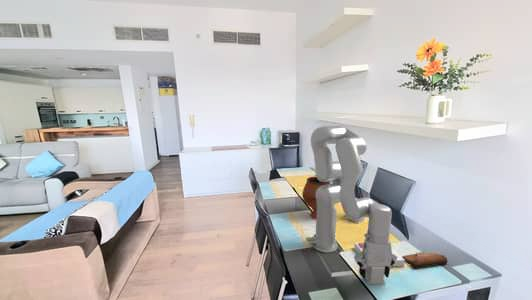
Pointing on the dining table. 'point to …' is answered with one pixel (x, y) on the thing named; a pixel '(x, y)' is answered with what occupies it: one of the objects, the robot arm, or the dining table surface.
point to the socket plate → (400, 260)
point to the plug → (375, 275)
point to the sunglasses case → (424, 259)
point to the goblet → (312, 193)
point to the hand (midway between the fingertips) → (373, 275)
